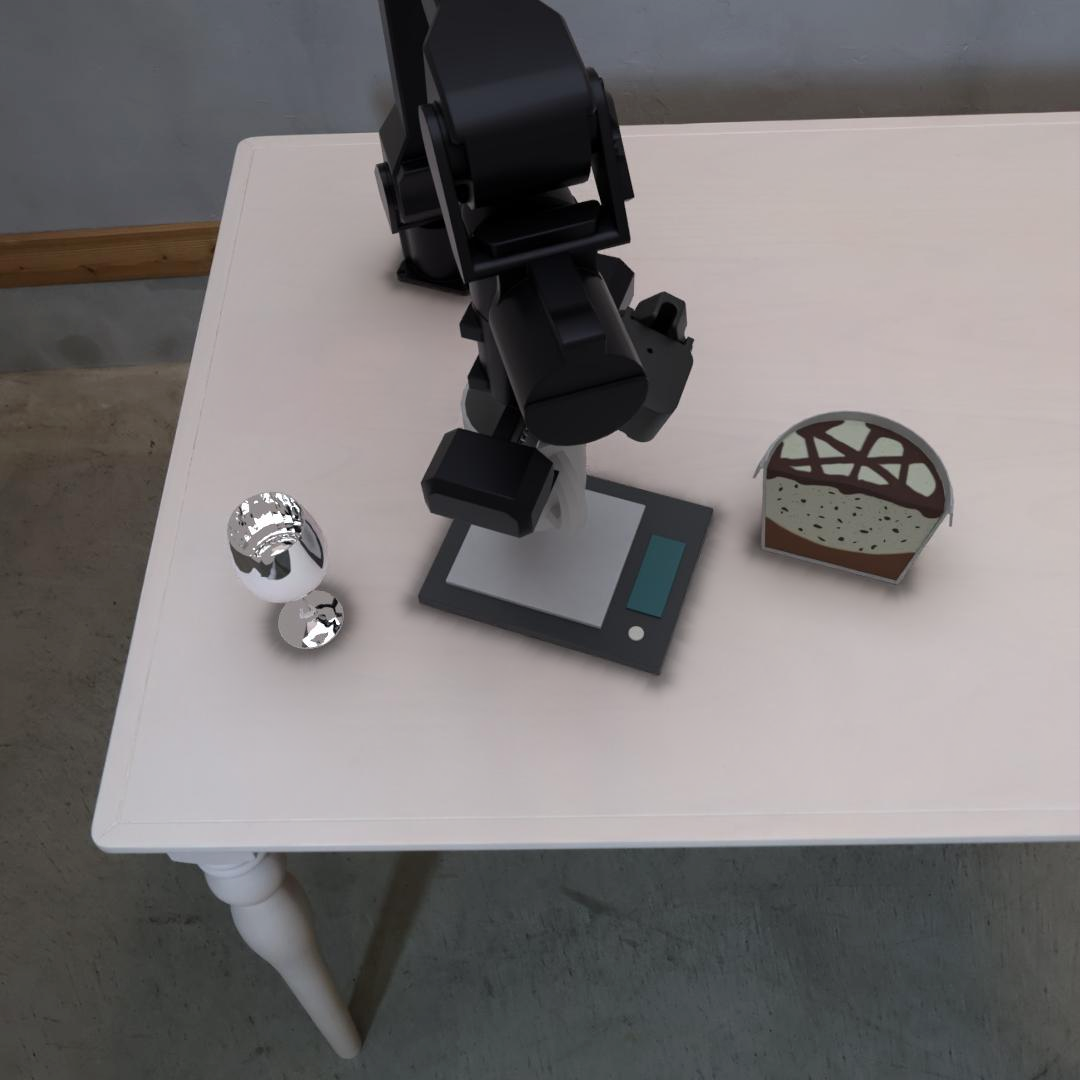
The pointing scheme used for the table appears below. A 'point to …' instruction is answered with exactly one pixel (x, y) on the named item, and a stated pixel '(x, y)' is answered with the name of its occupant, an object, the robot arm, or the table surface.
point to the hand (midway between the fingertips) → (541, 467)
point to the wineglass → (285, 566)
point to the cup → (569, 489)
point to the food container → (853, 494)
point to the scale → (581, 575)
